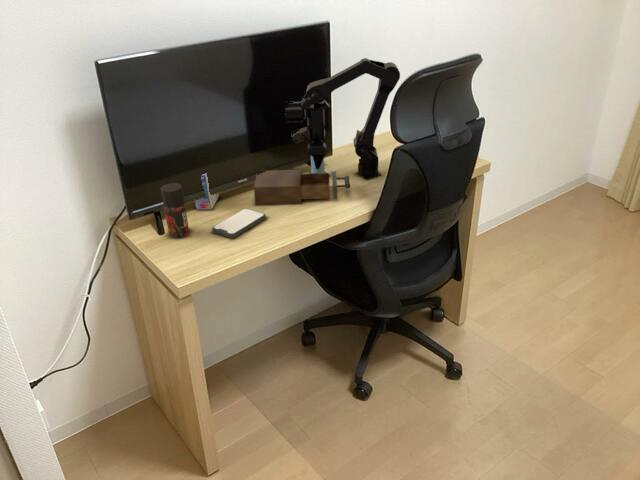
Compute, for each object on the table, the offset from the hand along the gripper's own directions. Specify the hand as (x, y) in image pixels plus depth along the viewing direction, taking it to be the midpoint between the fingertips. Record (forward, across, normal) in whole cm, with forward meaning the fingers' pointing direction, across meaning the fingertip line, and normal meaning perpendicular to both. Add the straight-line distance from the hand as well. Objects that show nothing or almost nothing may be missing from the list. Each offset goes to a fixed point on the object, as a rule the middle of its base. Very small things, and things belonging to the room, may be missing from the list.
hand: (317, 164), depth 203 cm
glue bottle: (+4, 0, 0) cm, 4 cm away
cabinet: (+5, +15, -13) cm, 20 cm away
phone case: (+5, +35, -24) cm, 43 cm away
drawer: (+4, +15, +1) cm, 16 cm away
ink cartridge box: (+5, +19, -36) cm, 41 cm away
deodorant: (+5, +39, -42) cm, 57 cm away
